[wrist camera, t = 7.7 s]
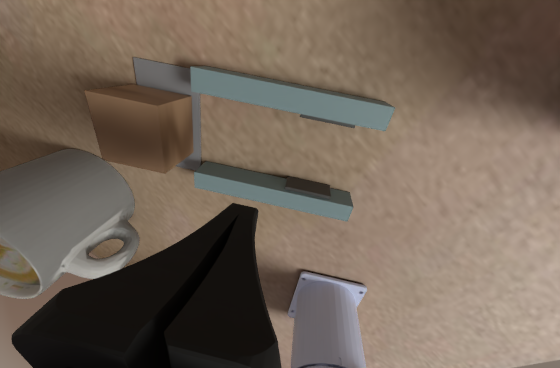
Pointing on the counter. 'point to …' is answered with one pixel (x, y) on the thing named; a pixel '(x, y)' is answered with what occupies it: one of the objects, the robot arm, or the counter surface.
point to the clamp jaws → (309, 106)
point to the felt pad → (176, 82)
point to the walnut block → (142, 126)
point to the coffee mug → (61, 221)
